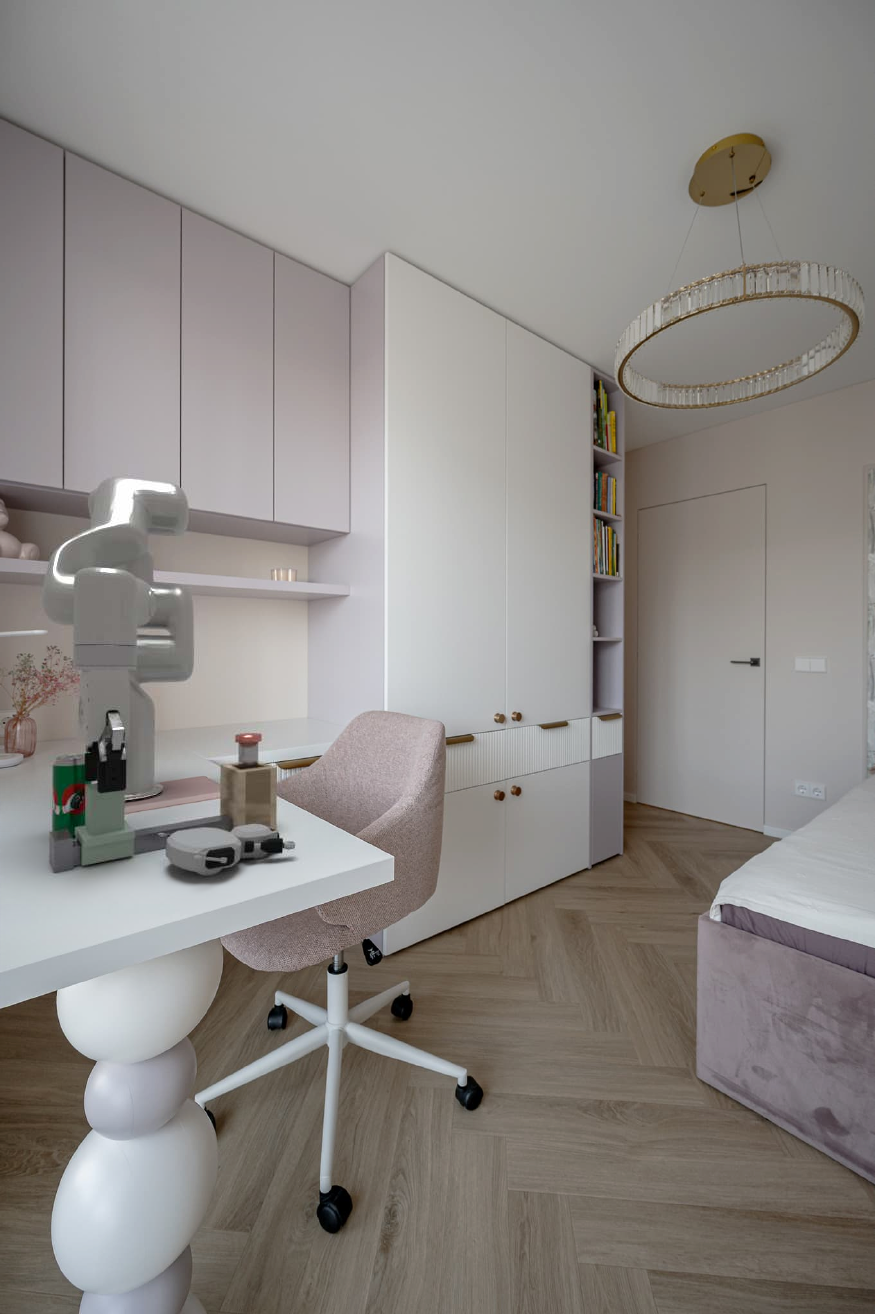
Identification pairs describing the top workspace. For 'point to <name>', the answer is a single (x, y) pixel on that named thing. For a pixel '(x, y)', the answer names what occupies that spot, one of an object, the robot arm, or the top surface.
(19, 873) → the top surface
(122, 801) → the carriage
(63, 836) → the rail
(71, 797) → the soda can
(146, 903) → the top surface
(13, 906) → the top surface
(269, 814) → the open wooden box
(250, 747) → the plunger
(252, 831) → the robot toy
